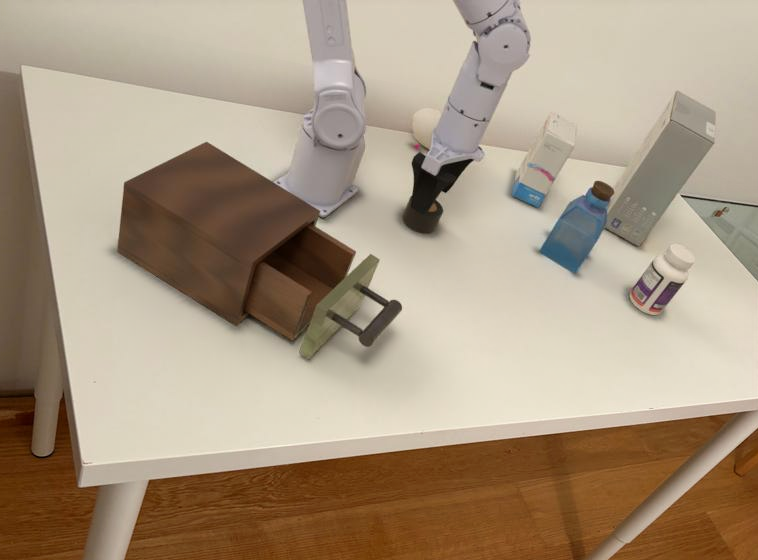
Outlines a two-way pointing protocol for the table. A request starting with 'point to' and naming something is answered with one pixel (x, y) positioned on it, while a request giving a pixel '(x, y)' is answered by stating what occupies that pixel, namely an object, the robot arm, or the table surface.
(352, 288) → the drawer
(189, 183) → the cabinet
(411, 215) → the tape
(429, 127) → the stress ball
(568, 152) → the ink box
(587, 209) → the perfume bottle
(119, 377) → the table surface
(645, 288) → the pill bottle
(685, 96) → the hard drive box
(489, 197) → the table surface
